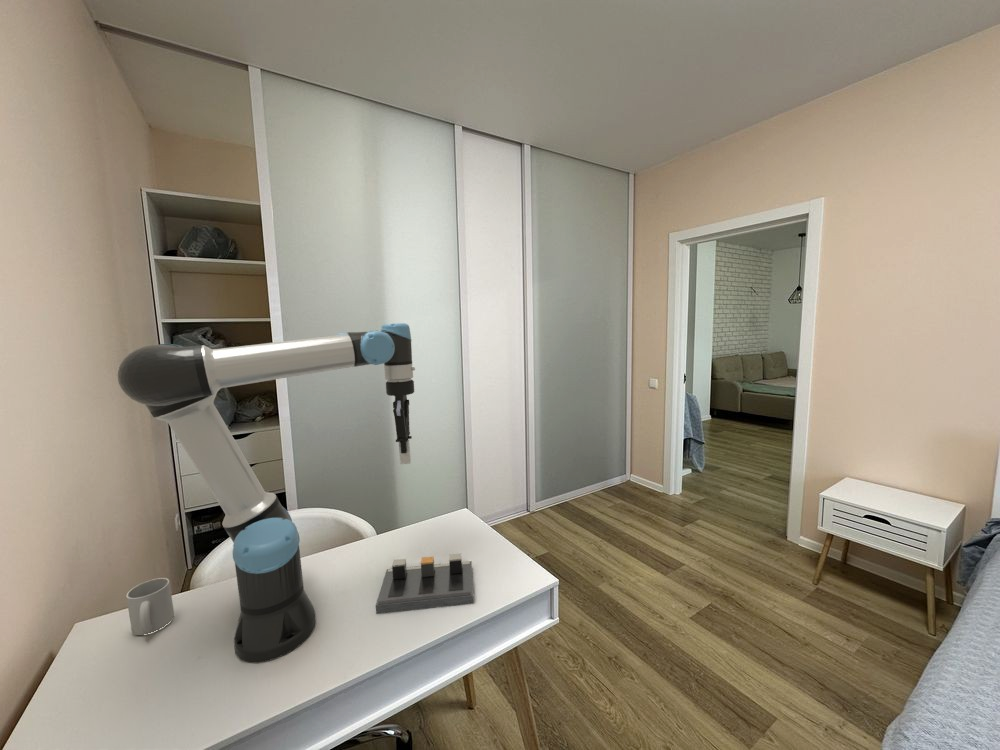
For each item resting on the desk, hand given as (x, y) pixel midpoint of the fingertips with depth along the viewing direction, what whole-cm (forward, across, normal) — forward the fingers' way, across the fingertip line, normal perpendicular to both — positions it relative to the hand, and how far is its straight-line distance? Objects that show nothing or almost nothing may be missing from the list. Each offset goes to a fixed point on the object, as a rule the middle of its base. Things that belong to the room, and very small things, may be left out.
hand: (405, 463), depth 112 cm
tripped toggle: (+24, -15, -6) cm, 29 cm away
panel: (+26, -18, -6) cm, 33 cm away
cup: (+27, -22, +54) cm, 64 cm away
